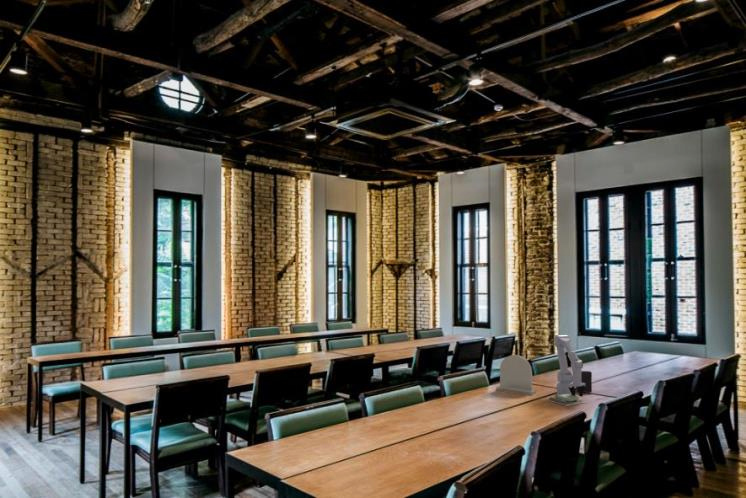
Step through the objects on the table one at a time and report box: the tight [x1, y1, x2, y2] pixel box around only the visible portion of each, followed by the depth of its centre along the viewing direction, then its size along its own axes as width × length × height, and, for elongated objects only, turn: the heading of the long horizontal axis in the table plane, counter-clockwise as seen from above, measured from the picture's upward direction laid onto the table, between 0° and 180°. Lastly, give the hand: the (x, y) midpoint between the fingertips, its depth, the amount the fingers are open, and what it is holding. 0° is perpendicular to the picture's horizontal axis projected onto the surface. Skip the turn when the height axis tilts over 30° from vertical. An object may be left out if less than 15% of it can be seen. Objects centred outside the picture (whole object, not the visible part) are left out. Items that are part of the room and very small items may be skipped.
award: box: [495, 354, 537, 396], centre depth 392 cm, size 28×9×28 cm, turn 54°
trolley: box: [556, 394, 580, 402], centre depth 360 cm, size 10×10×4 cm
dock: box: [547, 396, 588, 407], centre depth 360 cm, size 16×20×3 cm
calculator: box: [575, 370, 593, 393], centre depth 396 cm, size 11×4×15 cm, turn 84°
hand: (577, 397), depth 365 cm, fingers open, 7 cm apart
